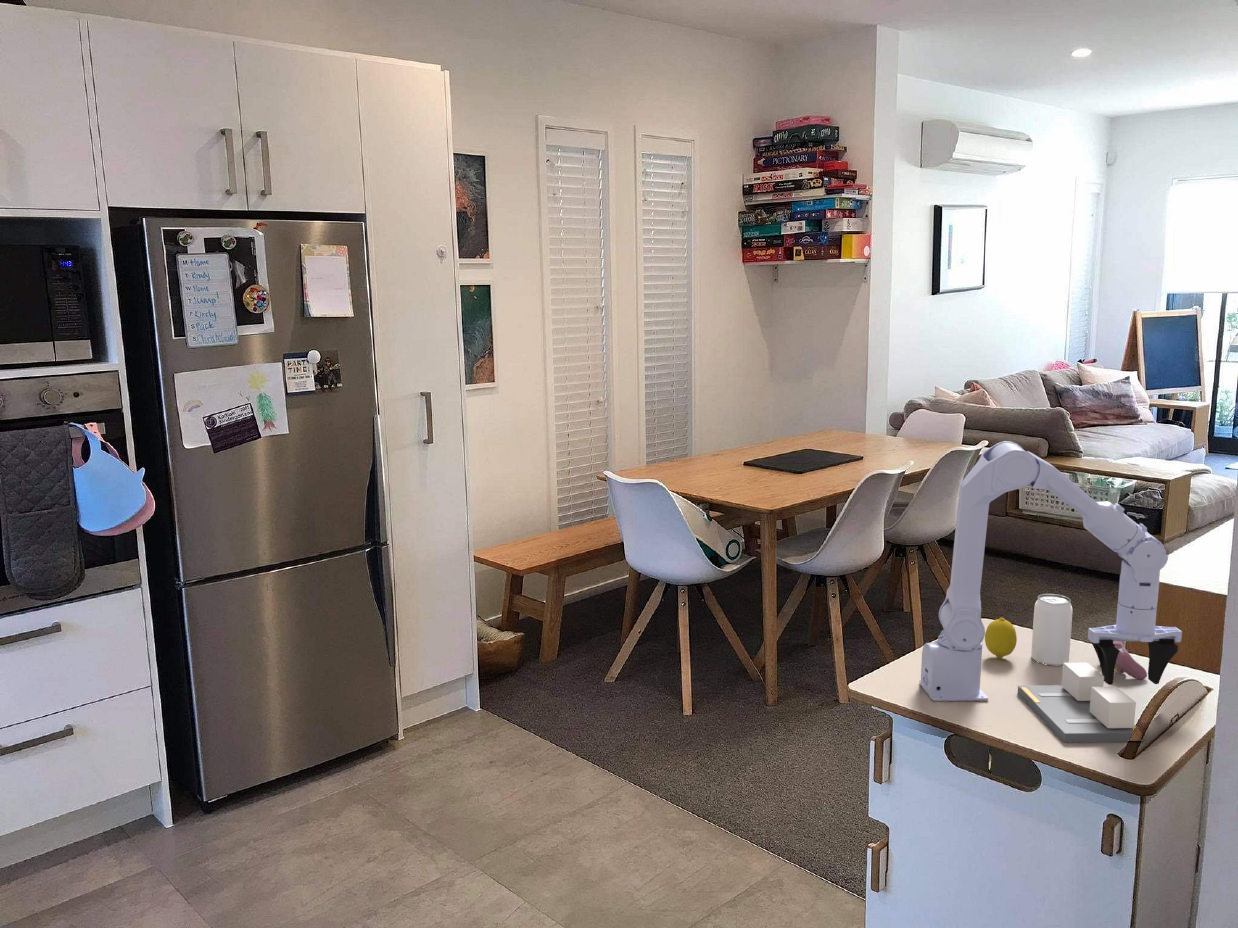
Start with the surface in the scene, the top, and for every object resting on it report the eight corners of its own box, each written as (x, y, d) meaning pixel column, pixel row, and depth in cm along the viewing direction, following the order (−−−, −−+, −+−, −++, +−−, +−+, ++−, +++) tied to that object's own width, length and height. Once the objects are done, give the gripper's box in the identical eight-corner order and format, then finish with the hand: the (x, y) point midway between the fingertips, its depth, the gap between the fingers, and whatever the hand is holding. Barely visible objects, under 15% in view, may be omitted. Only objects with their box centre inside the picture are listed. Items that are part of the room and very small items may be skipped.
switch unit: (1064, 742, 150) (1065, 732, 150) (1017, 693, 168) (1018, 684, 167) (1142, 741, 150) (1143, 731, 150) (1087, 693, 168) (1088, 684, 167)
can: (1072, 667, 179) (1077, 605, 176) (1034, 665, 180) (1039, 603, 178) (1063, 654, 185) (1068, 593, 183) (1027, 652, 186) (1031, 592, 184)
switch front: (1107, 728, 151) (1110, 702, 150) (1089, 711, 156) (1091, 686, 156) (1133, 727, 151) (1136, 702, 150) (1114, 711, 156) (1116, 686, 156)
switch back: (1077, 700, 160) (1079, 676, 160) (1061, 685, 166) (1063, 662, 166) (1102, 700, 160) (1104, 676, 160) (1085, 685, 166) (1086, 662, 165)
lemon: (1019, 663, 181) (1022, 622, 179) (989, 664, 181) (992, 623, 179) (1008, 652, 186) (1011, 612, 185) (979, 652, 186) (981, 612, 185)
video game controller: (1103, 667, 183) (1088, 635, 182) (1127, 657, 182) (1112, 625, 181) (1125, 689, 173) (1110, 655, 172) (1150, 678, 172) (1135, 644, 171)
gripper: (1105, 612, 157) (1098, 692, 159) (1195, 611, 156) (1187, 691, 159) (1084, 598, 163) (1078, 675, 166) (1171, 597, 163) (1164, 674, 166)
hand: (1130, 681), depth 163 cm, fingers open, 7 cm apart
